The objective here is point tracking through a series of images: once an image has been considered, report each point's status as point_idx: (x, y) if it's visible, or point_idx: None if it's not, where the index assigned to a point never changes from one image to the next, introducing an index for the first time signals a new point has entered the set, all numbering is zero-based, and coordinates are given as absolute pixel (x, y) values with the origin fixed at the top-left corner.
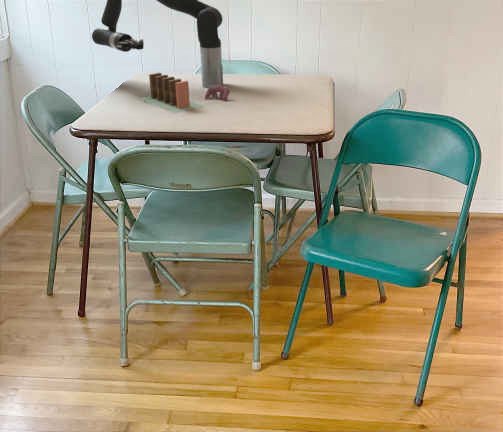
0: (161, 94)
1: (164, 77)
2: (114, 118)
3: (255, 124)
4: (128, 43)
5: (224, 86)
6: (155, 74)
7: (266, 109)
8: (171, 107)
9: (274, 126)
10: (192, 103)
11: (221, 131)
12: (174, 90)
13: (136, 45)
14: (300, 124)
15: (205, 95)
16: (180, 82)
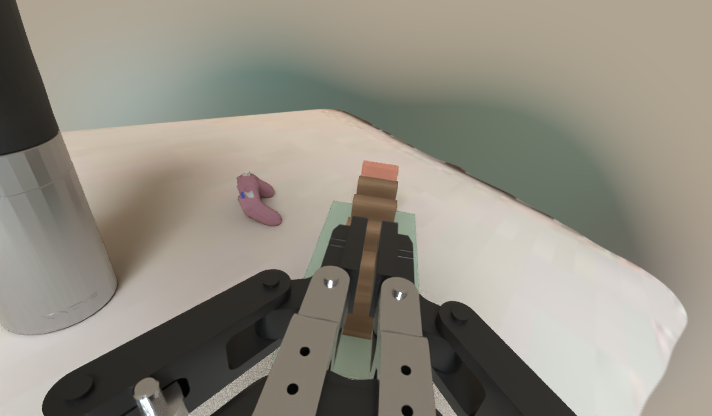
0: None
1: None
2: (565, 280)
3: (356, 140)
4: (464, 313)
5: (242, 175)
6: (372, 252)
7: (281, 148)
8: None
9: (347, 130)
10: (333, 224)
11: (411, 150)
12: None
13: (409, 239)
14: (320, 121)
15: (278, 214)
16: (386, 165)
